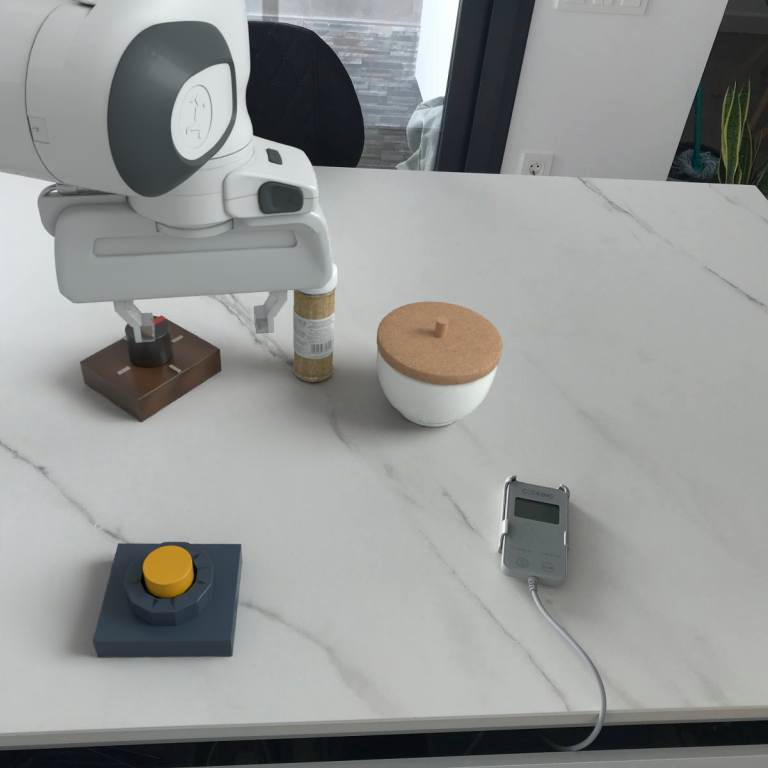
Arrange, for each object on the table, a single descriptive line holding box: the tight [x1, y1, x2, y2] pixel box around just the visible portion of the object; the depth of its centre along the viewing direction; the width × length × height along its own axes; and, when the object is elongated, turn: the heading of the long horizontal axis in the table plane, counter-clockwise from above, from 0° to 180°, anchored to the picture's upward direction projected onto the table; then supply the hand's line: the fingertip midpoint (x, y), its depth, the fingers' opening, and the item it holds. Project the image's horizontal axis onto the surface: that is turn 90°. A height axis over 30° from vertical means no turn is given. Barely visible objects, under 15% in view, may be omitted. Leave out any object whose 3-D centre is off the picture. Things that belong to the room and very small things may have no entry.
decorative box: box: [376, 301, 503, 428], centre depth 80 cm, size 13×13×11 cm
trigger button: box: [143, 546, 194, 598], centre depth 59 cm, size 4×4×2 cm
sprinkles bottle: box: [292, 262, 338, 383], centre depth 82 cm, size 5×5×14 cm
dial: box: [124, 314, 173, 367], centre depth 80 cm, size 4×4×4 cm
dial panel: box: [79, 317, 222, 423], centre depth 82 cm, size 11×9×3 cm
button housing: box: [92, 541, 243, 658], centre depth 61 cm, size 10×9×4 cm
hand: (205, 333), depth 63 cm, fingers open, 8 cm apart
